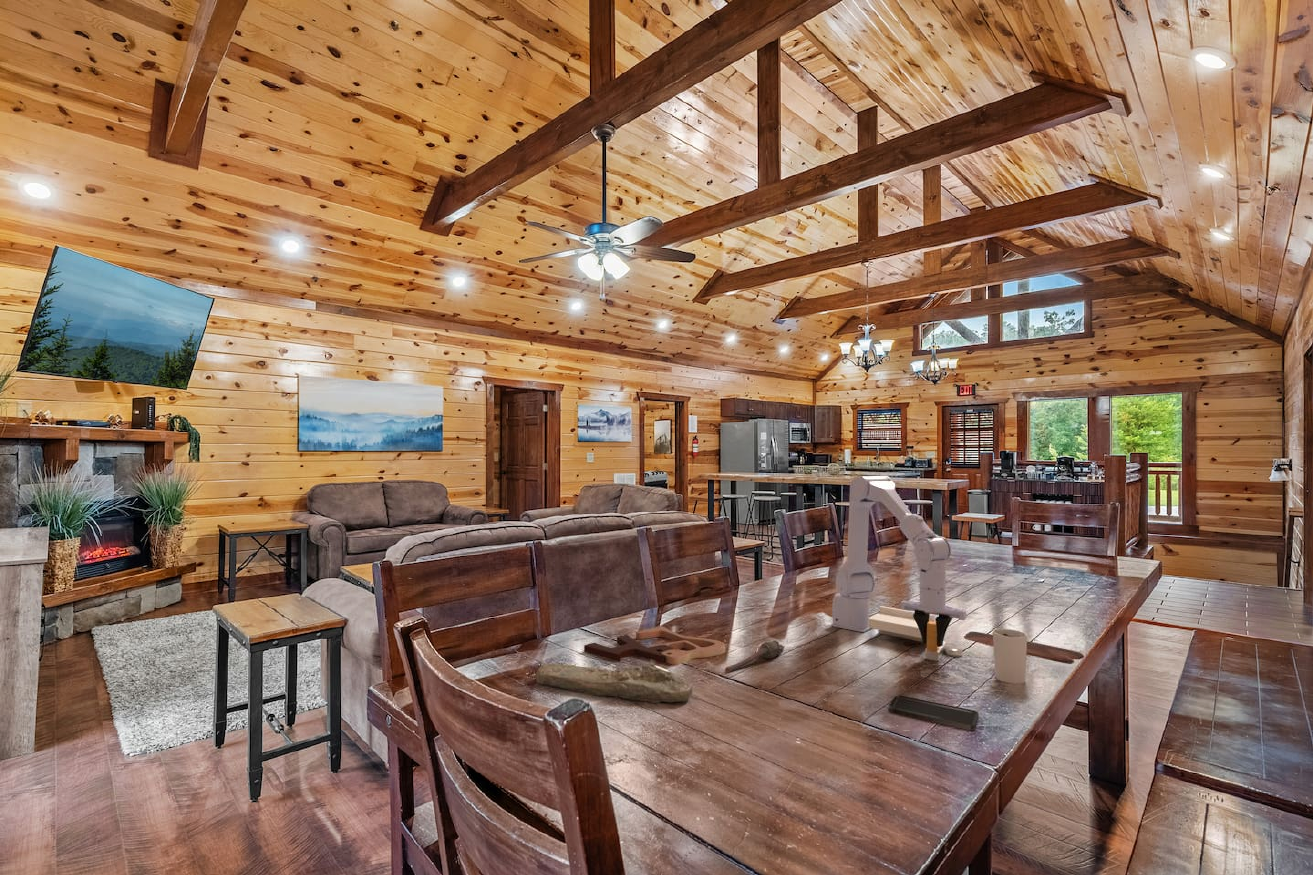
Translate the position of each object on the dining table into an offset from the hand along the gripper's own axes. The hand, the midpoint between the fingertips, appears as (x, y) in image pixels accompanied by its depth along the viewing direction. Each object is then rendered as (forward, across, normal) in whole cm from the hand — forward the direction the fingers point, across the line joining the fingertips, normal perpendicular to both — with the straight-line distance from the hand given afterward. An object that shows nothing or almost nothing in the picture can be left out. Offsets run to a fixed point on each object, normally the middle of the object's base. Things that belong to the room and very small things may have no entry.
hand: (932, 644), depth 148 cm
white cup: (+4, +17, -2) cm, 17 cm away
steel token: (+4, +3, +7) cm, 9 cm away
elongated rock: (+4, -44, -64) cm, 78 cm away
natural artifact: (+4, -31, -29) cm, 43 cm away
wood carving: (+4, -53, -40) cm, 67 cm away
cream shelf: (+3, -11, +10) cm, 15 cm away
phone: (+4, +10, -32) cm, 34 cm away
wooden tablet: (+4, +13, +25) cm, 29 cm away
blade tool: (+3, -1, +4) cm, 6 cm away
